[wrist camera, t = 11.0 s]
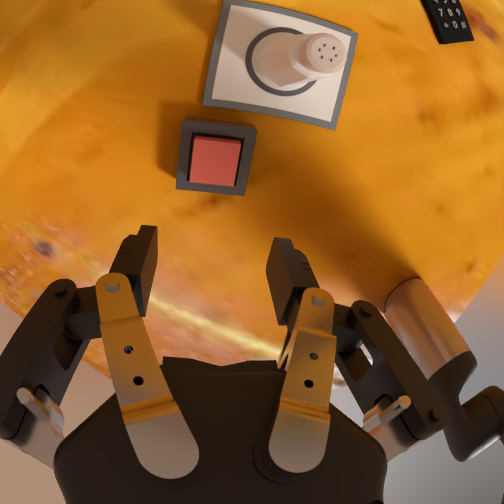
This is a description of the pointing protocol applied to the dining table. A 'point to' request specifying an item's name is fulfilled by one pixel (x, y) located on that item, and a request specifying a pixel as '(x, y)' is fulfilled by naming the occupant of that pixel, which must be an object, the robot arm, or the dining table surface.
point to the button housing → (217, 130)
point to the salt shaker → (302, 58)
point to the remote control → (448, 21)
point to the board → (249, 71)
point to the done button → (214, 160)
